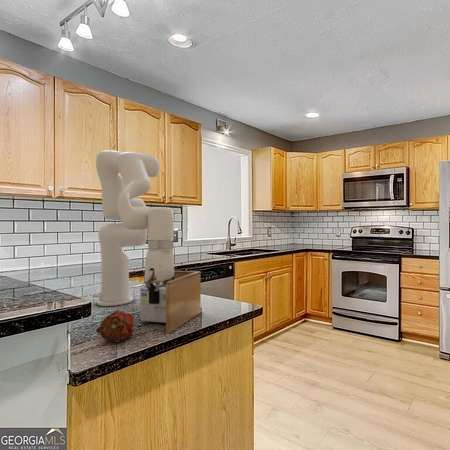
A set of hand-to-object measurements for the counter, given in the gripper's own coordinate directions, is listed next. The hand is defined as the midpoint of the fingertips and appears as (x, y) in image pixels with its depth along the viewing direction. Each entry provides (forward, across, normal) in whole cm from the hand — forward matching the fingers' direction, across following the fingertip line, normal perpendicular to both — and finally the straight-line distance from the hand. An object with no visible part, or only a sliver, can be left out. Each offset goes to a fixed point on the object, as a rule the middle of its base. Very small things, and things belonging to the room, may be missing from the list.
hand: (161, 300), depth 104 cm
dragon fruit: (+7, +16, -4) cm, 18 cm away
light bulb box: (+6, 0, 0) cm, 6 cm away
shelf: (+7, -1, 0) cm, 7 cm away
